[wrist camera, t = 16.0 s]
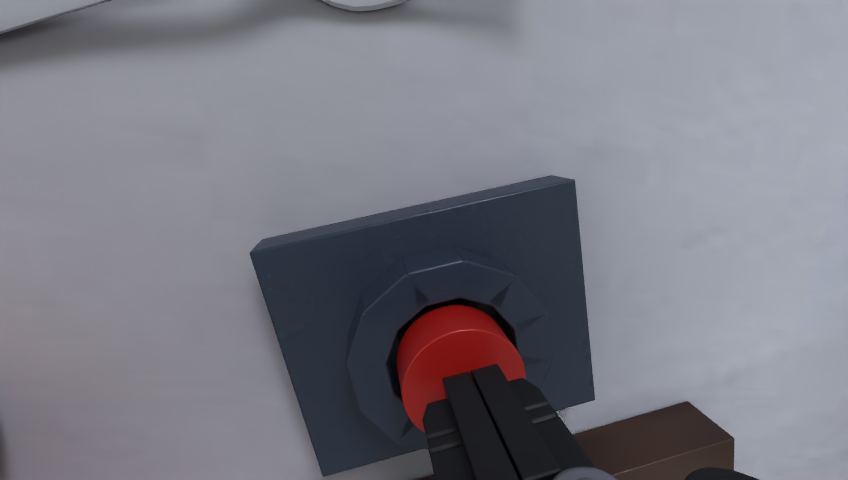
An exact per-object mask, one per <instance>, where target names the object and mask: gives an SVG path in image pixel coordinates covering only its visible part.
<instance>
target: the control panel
mask: <svg viewBox="0 0 848 480" xmlns="http://www.w3.org/2000/svg"><path fill="white" fill-rule="evenodd" d="M573 437H574V438H575V440H576V441H577V442H578V444H579V445H580V447H581V448H582V449H583V451H584V452H585V454H586V455H587V456H588V458H589V459H590V461H591V462H592V464H593V465H594V466H595V467H596V468H597V469H600V470H602V471H604V472H607V473H608V474H610V475H612V476H613V477H615V478H616V479H617V480H685V478H686V477H687V476H688V475H689V474H690V473H691V472H693V471H695V470H698V469H701V468H706V467H717V468H725V469H730V470H733V471H734V438H733V437H732V436H731V435H729V434H728V433H727V432H726V431H724V430H723V429H722V428H721V427H719V426H718V425H717V424H716V423H714V422H713V421H712V420H711V419H709V418H708V417H707V416H706V415H704V414H703V413H702V412H701V411H699V410H698V409H697V408H696V407H694V406H693V405H692V404H691V403H689V402H684V403H681V404H677V405H674V406H670V407H667V408H663V409H660V410H657V411H653V412H650V413H646V414H643V415H639V416H636V417H632V418H629V419H626V420H622V421H619V422H615V423H612V424H608V425H605V426H602V427H598V428H595V429H591V430H588V431H584V432H581V433H577V434H574V435H573ZM419 480H435V476H434V475H433V476H430V477H426V478H423V479H419Z"/></svg>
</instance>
